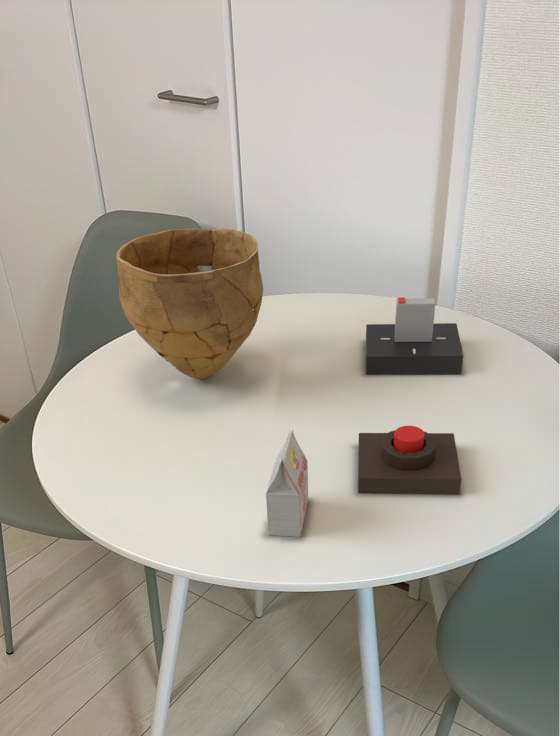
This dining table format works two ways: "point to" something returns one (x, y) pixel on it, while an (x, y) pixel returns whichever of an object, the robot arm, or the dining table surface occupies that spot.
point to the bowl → (192, 294)
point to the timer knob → (414, 319)
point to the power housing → (408, 465)
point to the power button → (409, 439)
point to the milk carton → (288, 490)
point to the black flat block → (413, 352)
